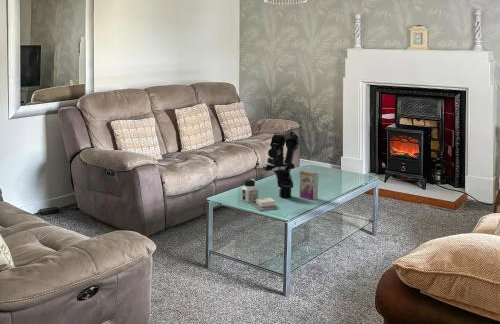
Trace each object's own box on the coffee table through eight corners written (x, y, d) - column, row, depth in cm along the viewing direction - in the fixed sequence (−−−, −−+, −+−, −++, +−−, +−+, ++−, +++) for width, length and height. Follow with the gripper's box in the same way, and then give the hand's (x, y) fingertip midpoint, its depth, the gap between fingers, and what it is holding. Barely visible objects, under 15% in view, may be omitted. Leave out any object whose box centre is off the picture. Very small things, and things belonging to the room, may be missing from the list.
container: (248, 202, 356) (248, 181, 353) (241, 199, 362) (241, 179, 360) (258, 200, 361) (258, 179, 358) (251, 197, 367) (251, 177, 364)
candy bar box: (299, 196, 369) (299, 171, 366) (304, 195, 373) (304, 170, 369) (312, 200, 361) (313, 174, 358) (317, 198, 365) (318, 173, 361)
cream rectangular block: (269, 197, 354) (256, 199, 350) (275, 200, 346) (261, 202, 343) (269, 202, 354) (256, 203, 351) (275, 205, 347) (261, 207, 344)
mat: (264, 201, 359) (264, 200, 358) (276, 209, 342) (276, 208, 342) (248, 203, 355) (248, 202, 355) (260, 210, 338) (260, 210, 338)
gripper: (287, 151, 363) (286, 176, 367) (259, 153, 357) (259, 179, 360) (295, 155, 353) (294, 180, 356) (266, 157, 347) (266, 183, 350)
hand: (278, 180), depth 356 cm, fingers closed
